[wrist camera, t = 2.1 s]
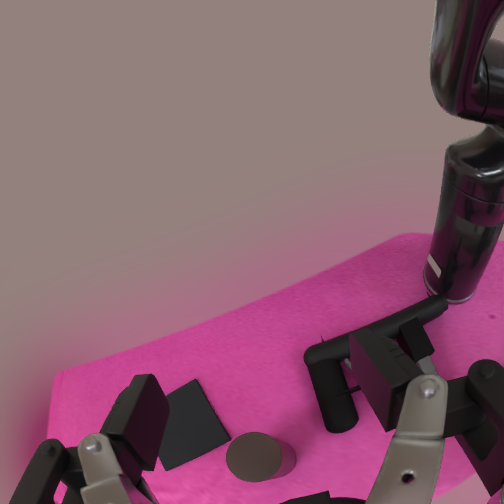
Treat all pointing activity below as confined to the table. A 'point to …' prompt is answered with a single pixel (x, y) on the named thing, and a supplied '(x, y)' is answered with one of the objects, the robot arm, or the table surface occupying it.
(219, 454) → the table surface
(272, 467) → the dark brown cylinder
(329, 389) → the door handle
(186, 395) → the black mat
